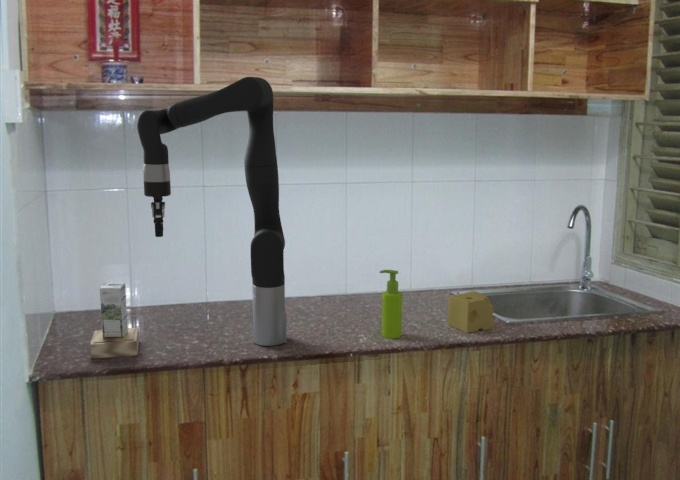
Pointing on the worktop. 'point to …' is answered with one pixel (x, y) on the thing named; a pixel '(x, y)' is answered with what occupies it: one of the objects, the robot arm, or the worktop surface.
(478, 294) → the cheese
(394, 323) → the soap dispenser
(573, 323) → the worktop surface
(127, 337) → the plinth
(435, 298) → the worktop surface
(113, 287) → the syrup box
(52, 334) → the worktop surface
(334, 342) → the worktop surface
